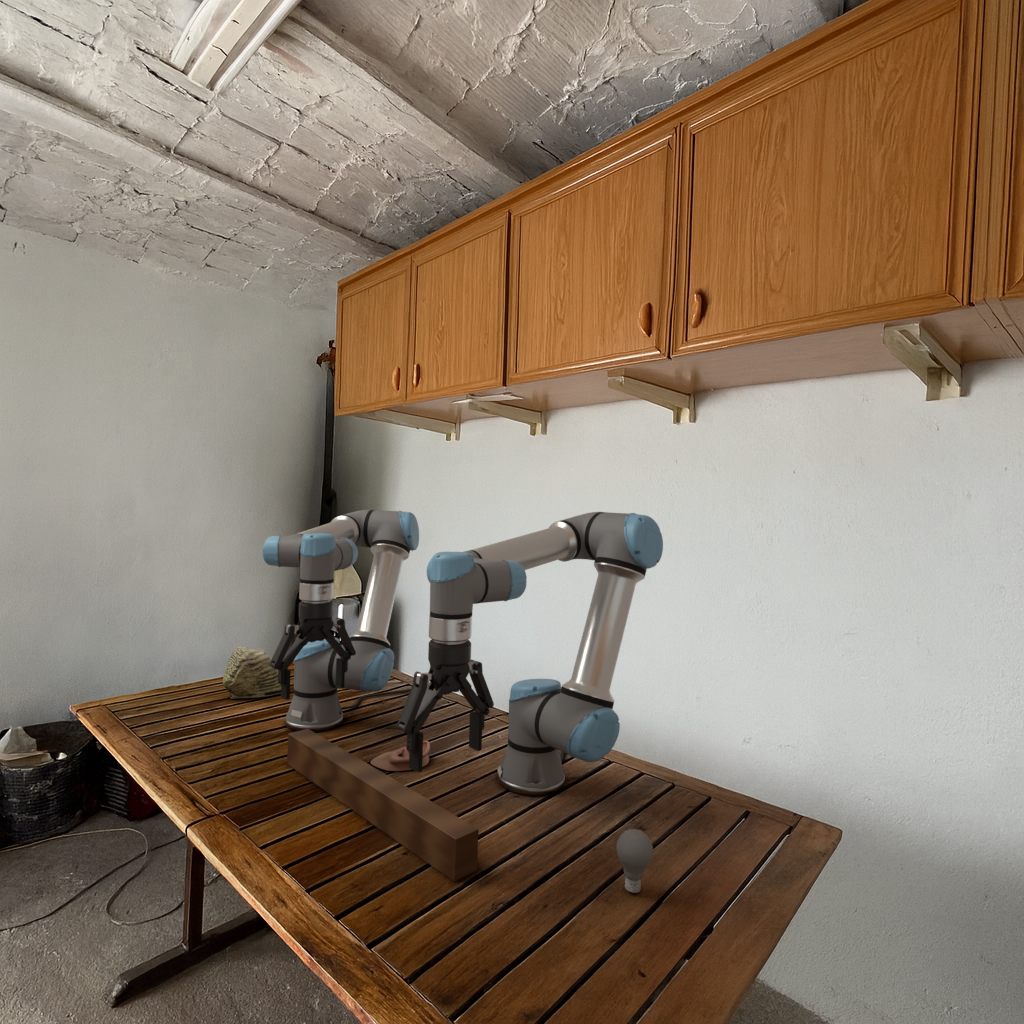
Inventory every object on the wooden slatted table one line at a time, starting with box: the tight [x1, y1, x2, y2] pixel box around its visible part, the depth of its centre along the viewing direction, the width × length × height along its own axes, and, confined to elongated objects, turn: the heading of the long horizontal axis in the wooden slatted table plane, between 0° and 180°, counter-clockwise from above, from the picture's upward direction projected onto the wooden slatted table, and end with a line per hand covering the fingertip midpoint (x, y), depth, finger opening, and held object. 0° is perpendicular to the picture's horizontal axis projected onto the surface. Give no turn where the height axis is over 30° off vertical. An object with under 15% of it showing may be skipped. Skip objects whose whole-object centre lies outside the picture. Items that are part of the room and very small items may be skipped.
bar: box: [286, 729, 479, 882], centre depth 129 cm, size 61×5×7 cm, turn 45°
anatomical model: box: [370, 740, 431, 772], centre depth 153 cm, size 13×4×12 cm
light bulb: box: [615, 828, 654, 894], centre depth 106 cm, size 6×6×10 cm
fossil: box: [222, 646, 281, 699], centre depth 198 cm, size 9×18×15 cm, turn 132°
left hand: (313, 692), depth 146 cm, fingers open, 13 cm apart
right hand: (446, 758), depth 112 cm, fingers open, 13 cm apart
